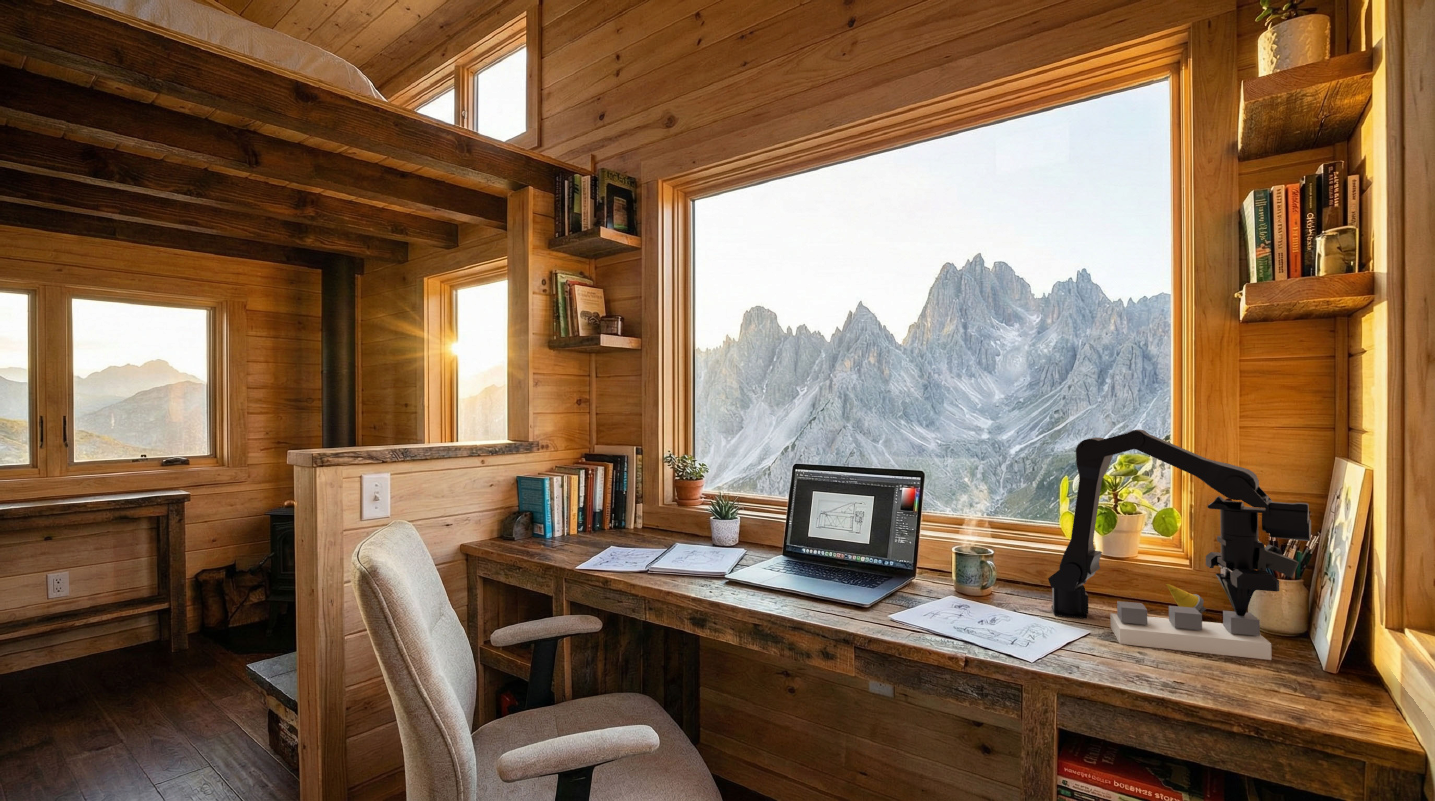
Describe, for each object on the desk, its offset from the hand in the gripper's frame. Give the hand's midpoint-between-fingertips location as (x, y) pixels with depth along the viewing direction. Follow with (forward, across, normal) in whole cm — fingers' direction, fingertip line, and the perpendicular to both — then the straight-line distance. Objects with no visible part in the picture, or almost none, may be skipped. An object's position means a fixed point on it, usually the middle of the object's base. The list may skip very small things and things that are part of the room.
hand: (1240, 615), depth 126 cm
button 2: (+6, 0, 0) cm, 7 cm away
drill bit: (+6, +19, +4) cm, 20 cm away
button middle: (+6, 0, +9) cm, 11 cm away
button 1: (+6, 0, +18) cm, 19 cm away
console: (+6, 0, +9) cm, 11 cm away
